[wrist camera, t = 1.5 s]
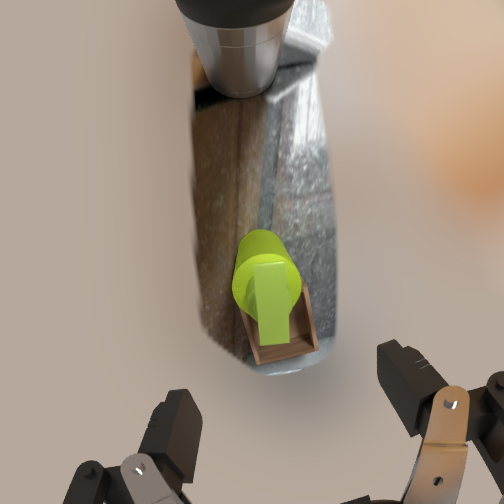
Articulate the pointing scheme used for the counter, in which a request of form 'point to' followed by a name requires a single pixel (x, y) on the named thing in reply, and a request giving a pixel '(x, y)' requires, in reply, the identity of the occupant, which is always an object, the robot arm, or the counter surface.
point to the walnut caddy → (299, 333)
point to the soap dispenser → (266, 284)
